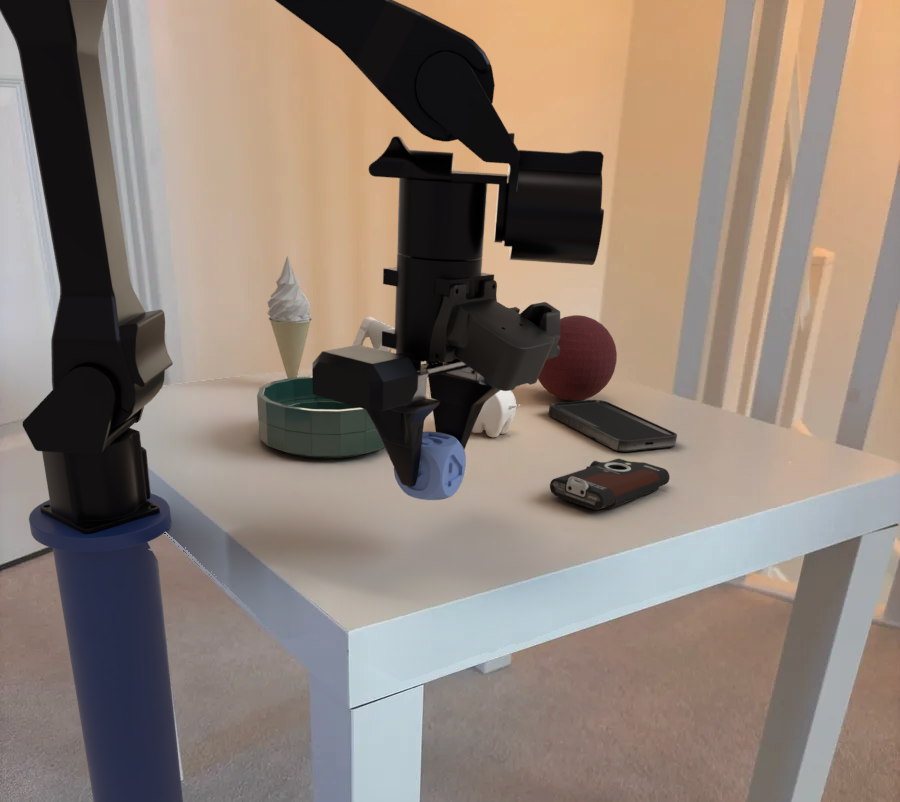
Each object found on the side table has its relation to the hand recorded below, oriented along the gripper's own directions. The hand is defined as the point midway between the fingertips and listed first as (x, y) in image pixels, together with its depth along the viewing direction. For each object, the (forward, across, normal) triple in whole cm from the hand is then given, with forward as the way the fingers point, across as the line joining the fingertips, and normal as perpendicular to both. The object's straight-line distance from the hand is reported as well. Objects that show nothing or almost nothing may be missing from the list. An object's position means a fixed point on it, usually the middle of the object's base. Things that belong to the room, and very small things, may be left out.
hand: (429, 478), depth 68 cm
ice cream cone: (+6, +25, +42) cm, 49 cm away
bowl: (+6, +13, +24) cm, 28 cm away
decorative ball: (+6, +47, +16) cm, 50 cm away
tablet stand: (+6, +29, +33) cm, 44 cm away
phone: (+6, +39, +6) cm, 40 cm away
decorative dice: (+1, 0, 0) cm, 1 cm away
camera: (+6, +21, -4) cm, 22 cm away
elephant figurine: (+6, +28, +15) cm, 32 cm away
